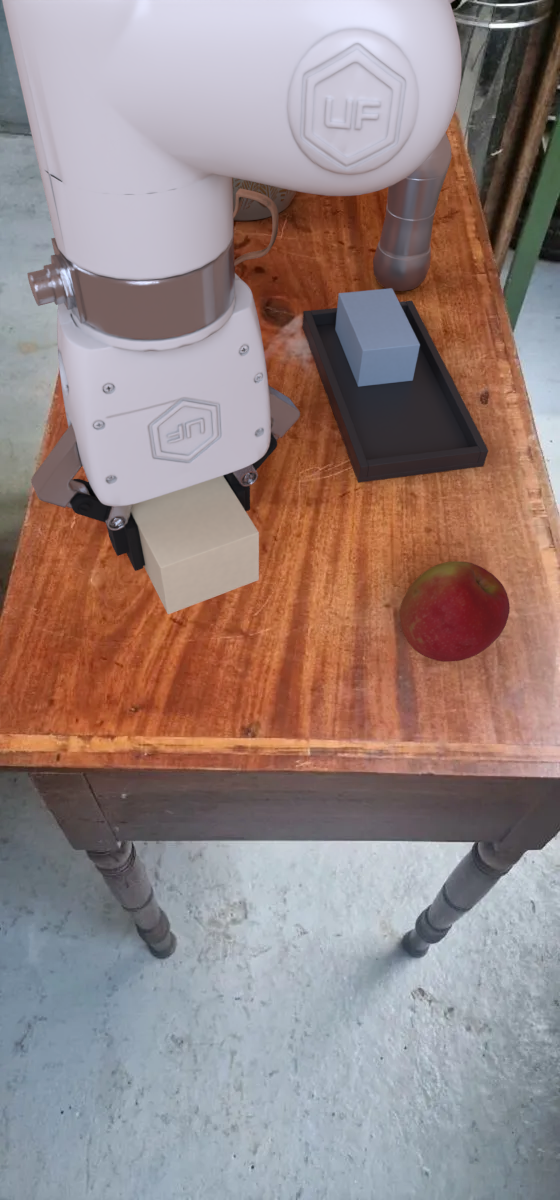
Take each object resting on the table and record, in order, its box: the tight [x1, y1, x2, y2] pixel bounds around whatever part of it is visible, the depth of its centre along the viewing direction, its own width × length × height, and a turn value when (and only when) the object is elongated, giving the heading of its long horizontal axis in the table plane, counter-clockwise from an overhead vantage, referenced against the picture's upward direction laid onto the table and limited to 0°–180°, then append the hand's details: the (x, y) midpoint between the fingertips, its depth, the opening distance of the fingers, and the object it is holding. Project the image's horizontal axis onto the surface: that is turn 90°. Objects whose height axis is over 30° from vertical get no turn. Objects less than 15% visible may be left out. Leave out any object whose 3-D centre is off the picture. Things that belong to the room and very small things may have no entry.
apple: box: [399, 560, 511, 663], centre depth 60 cm, size 8×8×8 cm
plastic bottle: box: [372, 133, 453, 292], centre depth 85 cm, size 6×7×20 cm
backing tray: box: [302, 300, 489, 484], centre depth 80 cm, size 13×25×2 cm, turn 11°
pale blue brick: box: [335, 288, 420, 387], centre depth 82 cm, size 6×10×4 cm, turn 11°
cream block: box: [131, 476, 260, 615], centre depth 47 cm, size 6×10×4 cm, turn 27°
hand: (182, 534), depth 49 cm, fingers closed on cream block, 6 cm apart
